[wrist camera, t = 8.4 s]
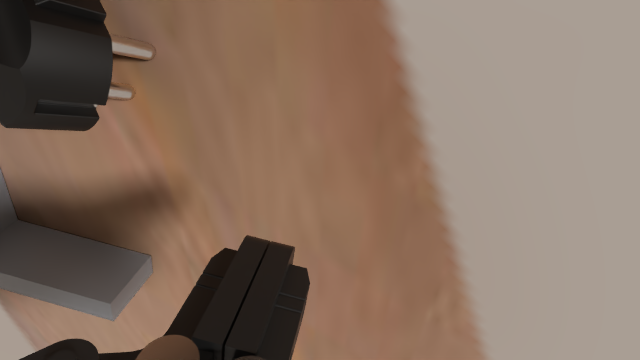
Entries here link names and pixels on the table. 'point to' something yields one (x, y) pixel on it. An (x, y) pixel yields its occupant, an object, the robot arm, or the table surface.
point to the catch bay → (66, 266)
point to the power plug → (59, 63)
